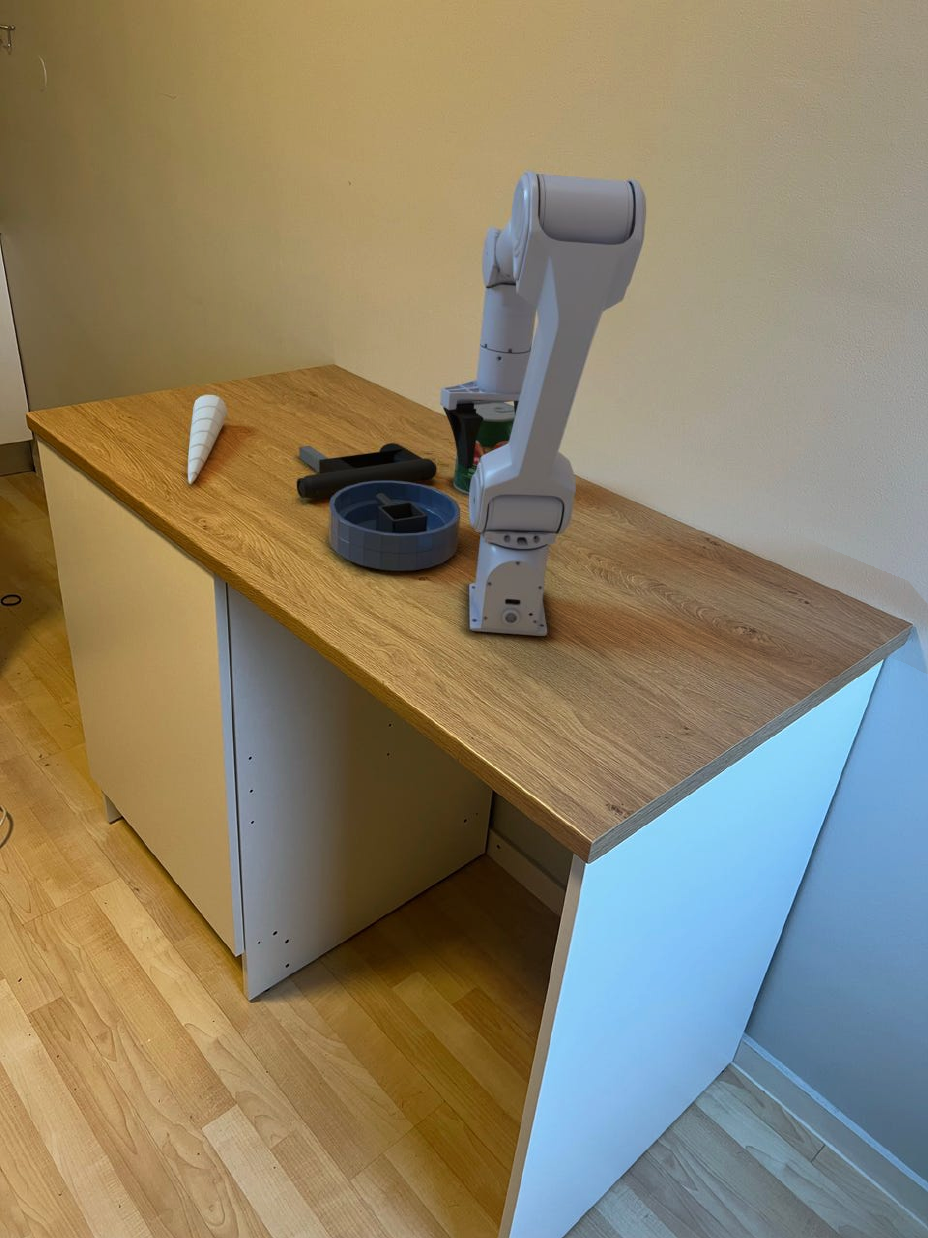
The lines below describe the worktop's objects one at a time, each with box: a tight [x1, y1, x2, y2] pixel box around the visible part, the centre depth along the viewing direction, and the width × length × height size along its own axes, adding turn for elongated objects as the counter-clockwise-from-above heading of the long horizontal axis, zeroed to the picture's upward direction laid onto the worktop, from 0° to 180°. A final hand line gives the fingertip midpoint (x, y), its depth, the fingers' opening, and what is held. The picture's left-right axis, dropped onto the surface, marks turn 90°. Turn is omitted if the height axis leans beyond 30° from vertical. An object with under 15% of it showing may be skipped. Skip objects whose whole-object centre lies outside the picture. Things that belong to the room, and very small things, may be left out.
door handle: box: [296, 442, 438, 500], centre depth 127 cm, size 3×20×16 cm
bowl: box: [327, 481, 461, 572], centre depth 110 cm, size 15×15×5 cm
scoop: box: [376, 493, 428, 534], centre depth 110 cm, size 8×4×5 cm, turn 30°
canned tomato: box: [452, 402, 515, 496], centre depth 126 cm, size 8×8×11 cm
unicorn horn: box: [187, 394, 228, 485], centre depth 128 cm, size 5×24×5 cm, turn 3°
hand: (492, 461), depth 110 cm, fingers open, 7 cm apart
